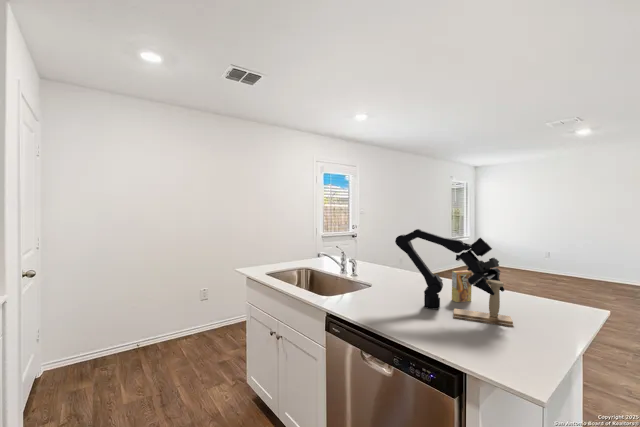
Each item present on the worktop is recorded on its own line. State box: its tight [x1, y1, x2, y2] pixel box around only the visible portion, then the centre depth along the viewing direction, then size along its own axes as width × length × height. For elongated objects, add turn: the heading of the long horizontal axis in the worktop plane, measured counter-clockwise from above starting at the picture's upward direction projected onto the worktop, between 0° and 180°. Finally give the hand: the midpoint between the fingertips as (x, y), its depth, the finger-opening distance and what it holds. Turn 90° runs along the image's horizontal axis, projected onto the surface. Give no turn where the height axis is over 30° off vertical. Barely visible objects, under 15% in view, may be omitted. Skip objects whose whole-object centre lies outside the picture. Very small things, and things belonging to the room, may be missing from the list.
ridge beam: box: [452, 308, 514, 328], centre depth 128 cm, size 22×10×2 cm, turn 64°
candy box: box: [451, 269, 473, 303], centre depth 152 cm, size 9×4×15 cm, turn 103°
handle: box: [487, 280, 505, 317], centre depth 125 cm, size 5×6×15 cm
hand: (498, 292), depth 124 cm, fingers open, 9 cm apart
